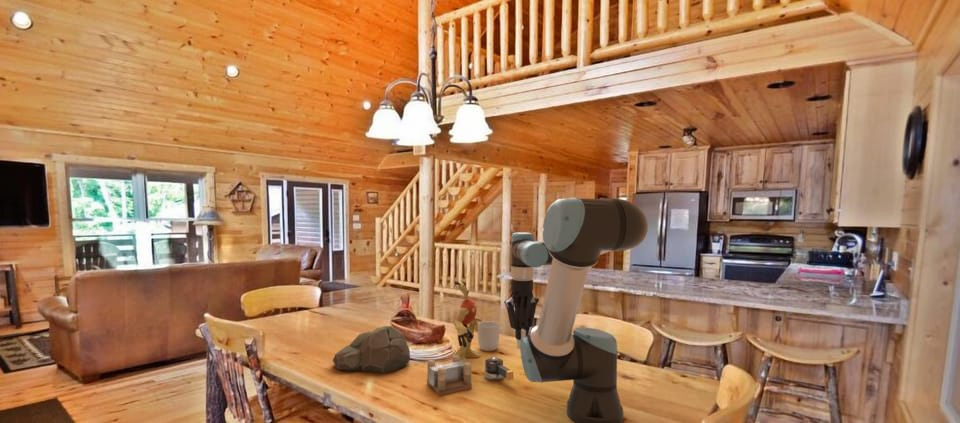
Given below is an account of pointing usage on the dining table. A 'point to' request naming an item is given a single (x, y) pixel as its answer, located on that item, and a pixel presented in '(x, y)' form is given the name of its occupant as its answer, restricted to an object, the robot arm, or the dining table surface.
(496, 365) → the dark grey mechanical part
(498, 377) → the base
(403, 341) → the decorative rock
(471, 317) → the toy
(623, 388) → the dining table surface
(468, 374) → the rack
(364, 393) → the dining table surface
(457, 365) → the bar
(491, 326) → the mug
